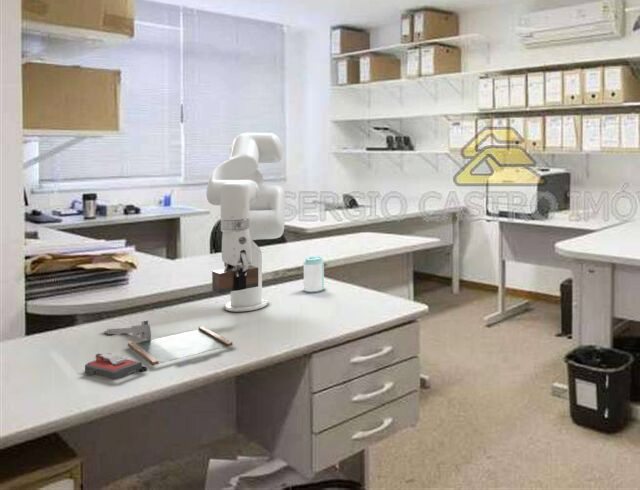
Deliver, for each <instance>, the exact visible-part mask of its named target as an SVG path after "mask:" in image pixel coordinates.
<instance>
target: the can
mask: <svg viewBox="0 0 640 490" xmlns="http://www.w3.org/2000/svg"><path fill="white" fill-rule="evenodd" d="M324 289H325V261H324V260H323V257H321V256H308V257H305V260H304V262H303V291H305V292H306V293H318V292H321V291H323V290H324Z"/></svg>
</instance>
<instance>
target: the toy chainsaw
mask: <svg viewBox="0 0 640 490" xmlns="http://www.w3.org/2000/svg"><path fill="white" fill-rule="evenodd" d="M147 371H148V367H147V366H144V365H143V362H141V361H136V360H133V357H131V356H127V355H124V354H121V355H118V354H115V353H110V352H106V353H96V354H95V360H92V361H89V362H87V363H86V364H85V365H84V373H85V374H89V375H92V376H99V377H103V378H106V379H110V380H120V379H123V378H125V377H128V376H130V374H133V373H134V374H136V373H143V372H147Z"/></svg>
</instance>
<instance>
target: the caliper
mask: <svg viewBox="0 0 640 490" xmlns="http://www.w3.org/2000/svg"><path fill="white" fill-rule="evenodd" d="M140 323H141V324H133V325H131V326H125V327H111V328H110V327H109V328H107V329H106V330H105V331H104V333H106V334H107V335H119V334H121V335H122V334H132V337H135V336H136V337H137V336H139V337H140V340H145V341H148V340H152V330H151V325H150V324H149V320H141V322H140Z"/></svg>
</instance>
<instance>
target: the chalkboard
mask: <svg viewBox="0 0 640 490" xmlns="http://www.w3.org/2000/svg"><path fill="white" fill-rule="evenodd" d="M127 346H128V347H130V349H132V350H133V351H135V352H136V353H137V354H139V355H140V356H141V357H142V358H144V359H145V360H146V361H147V362H149V363H150V364H151V365H153V366H155V365H159V364H163V363H167V362H170V361H176V360H180V359H182V358H187V357H190V356H194V355H199V354H202V353H206V352H211V351H215V350H218V349H222V348H227V347H231V346H233V342H232V341H230V340H228V339H226V338H225V337H223V336H221V335H219V334H217V333H216V332H214V331H212V330H211V329H209V328H206V327H205V326H198V329H195V330H189V331H185V332H181V333H175V334H171V335H167V336H162V337H158V338H153V339H151V340H148V341H146V340H145V341H139V342H135V341H129V342H127Z"/></svg>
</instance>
